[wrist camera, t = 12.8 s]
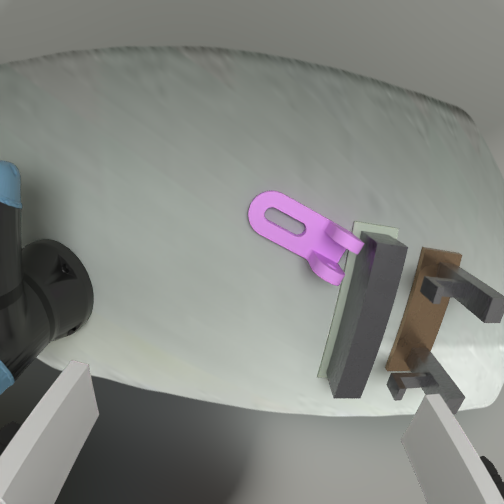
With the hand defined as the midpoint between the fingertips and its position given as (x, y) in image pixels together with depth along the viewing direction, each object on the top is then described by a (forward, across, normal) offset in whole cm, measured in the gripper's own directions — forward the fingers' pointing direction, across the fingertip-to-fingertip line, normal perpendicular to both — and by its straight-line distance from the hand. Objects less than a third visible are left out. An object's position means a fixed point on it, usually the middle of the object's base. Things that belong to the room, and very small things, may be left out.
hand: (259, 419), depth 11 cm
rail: (+30, +15, -9) cm, 35 cm away
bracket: (+31, +5, +1) cm, 32 cm away
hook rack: (+31, +25, -9) cm, 41 cm away
